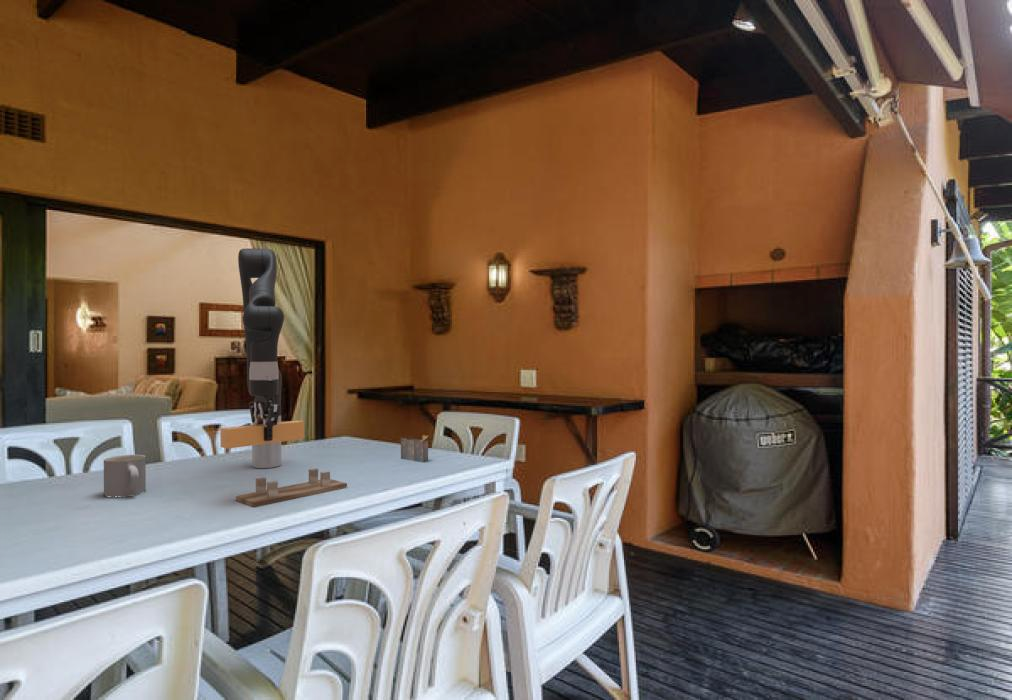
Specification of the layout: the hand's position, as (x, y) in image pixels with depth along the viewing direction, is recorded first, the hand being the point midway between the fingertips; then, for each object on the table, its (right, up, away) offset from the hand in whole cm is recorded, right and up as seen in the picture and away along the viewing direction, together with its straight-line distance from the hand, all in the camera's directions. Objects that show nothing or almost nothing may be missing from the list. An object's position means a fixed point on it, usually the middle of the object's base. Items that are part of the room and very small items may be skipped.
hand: (264, 439), depth 168 cm
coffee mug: (-39, -16, +1) cm, 42 cm away
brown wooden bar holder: (+8, -15, +1) cm, 17 cm away
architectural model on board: (+34, -15, +50) cm, 62 cm away
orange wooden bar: (0, -1, 0) cm, 1 cm away
